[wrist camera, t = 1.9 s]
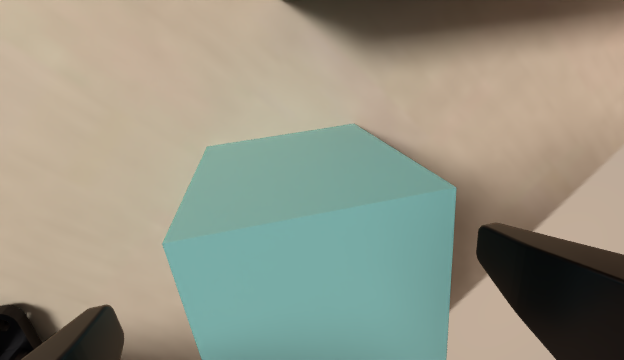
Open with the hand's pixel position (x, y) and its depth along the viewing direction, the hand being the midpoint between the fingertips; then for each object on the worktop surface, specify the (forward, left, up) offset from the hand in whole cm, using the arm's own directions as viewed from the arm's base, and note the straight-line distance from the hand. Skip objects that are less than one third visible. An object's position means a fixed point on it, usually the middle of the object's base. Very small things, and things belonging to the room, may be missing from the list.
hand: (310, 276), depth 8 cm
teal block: (0, 0, -4) cm, 4 cm away
